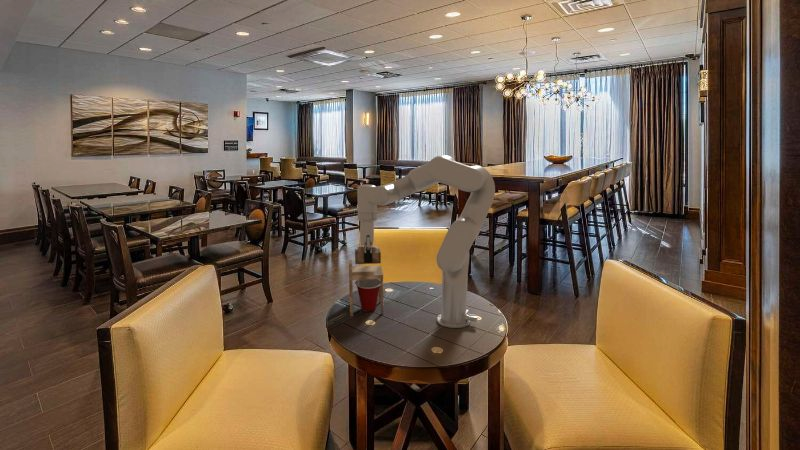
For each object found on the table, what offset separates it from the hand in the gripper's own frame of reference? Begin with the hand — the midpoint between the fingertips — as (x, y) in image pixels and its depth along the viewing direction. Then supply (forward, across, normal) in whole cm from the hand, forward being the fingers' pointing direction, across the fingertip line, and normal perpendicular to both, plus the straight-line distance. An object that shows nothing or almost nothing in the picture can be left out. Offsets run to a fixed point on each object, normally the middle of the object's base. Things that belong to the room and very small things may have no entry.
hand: (367, 259), depth 172 cm
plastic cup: (+21, 0, 0) cm, 21 cm away
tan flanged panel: (+21, 0, -1) cm, 21 cm away
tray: (+1, 0, 0) cm, 1 cm away
